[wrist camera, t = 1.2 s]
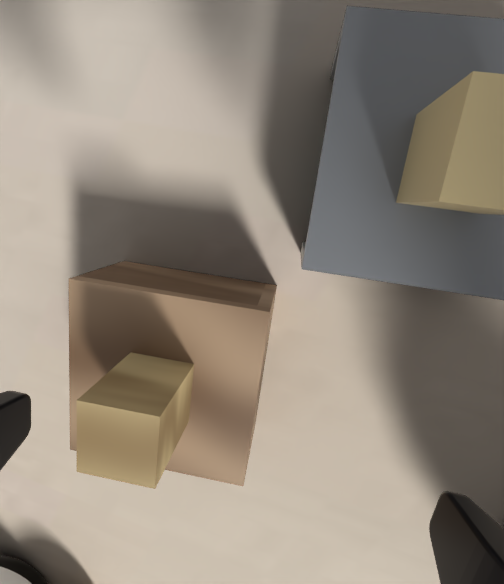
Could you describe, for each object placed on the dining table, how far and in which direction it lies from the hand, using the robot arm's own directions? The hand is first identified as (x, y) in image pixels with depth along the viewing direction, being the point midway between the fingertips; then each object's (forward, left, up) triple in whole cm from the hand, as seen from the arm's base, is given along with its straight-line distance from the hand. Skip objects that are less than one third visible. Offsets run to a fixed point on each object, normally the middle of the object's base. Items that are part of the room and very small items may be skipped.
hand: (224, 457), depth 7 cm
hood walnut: (-4, +4, -13) cm, 14 cm away
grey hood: (+7, -6, -13) cm, 16 cm away
